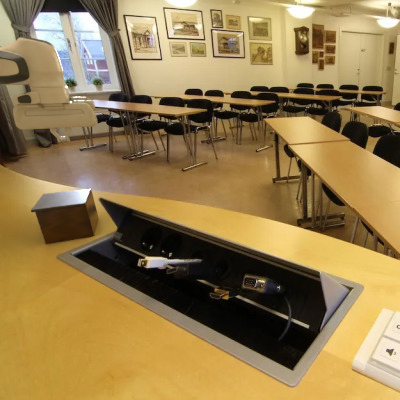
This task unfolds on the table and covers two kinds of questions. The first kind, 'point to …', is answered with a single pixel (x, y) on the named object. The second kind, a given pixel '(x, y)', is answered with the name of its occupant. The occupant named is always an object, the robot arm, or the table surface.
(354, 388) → the table surface
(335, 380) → the table surface
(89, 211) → the case
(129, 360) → the table surface
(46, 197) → the lid
